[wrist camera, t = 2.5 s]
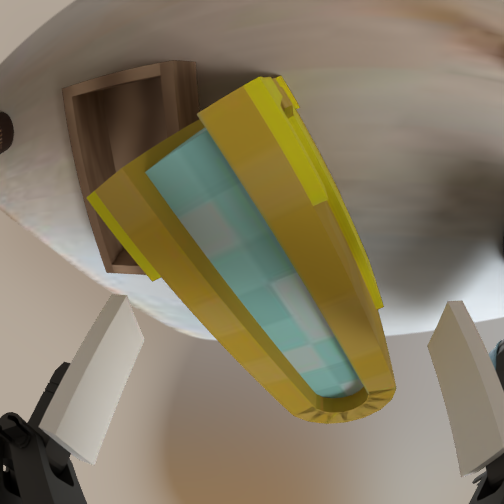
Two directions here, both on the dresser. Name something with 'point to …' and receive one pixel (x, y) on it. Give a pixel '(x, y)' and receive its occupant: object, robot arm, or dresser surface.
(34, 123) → the dresser surface
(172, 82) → the narrow box
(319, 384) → the book
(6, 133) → the coffee mug
